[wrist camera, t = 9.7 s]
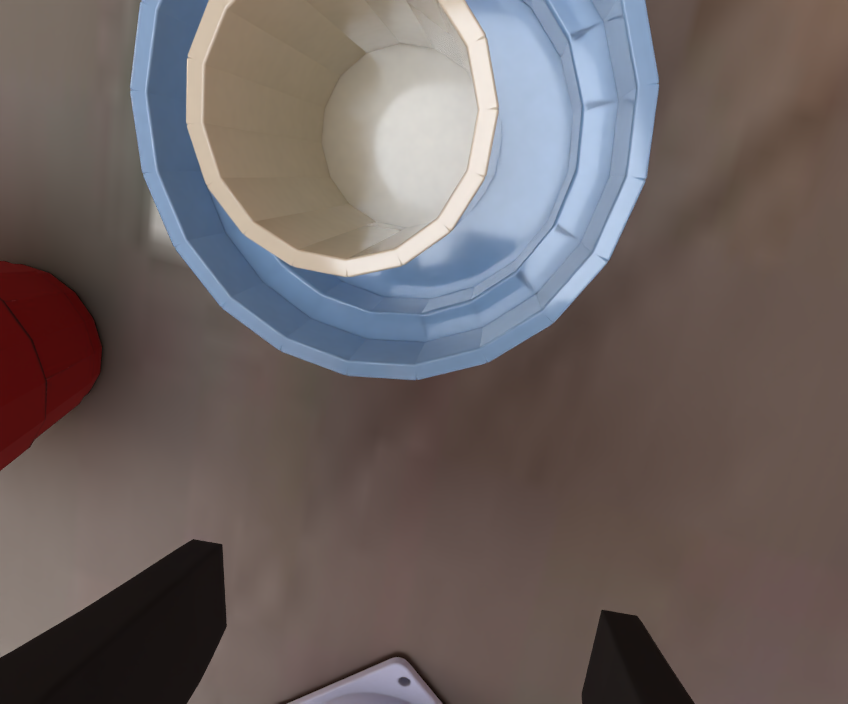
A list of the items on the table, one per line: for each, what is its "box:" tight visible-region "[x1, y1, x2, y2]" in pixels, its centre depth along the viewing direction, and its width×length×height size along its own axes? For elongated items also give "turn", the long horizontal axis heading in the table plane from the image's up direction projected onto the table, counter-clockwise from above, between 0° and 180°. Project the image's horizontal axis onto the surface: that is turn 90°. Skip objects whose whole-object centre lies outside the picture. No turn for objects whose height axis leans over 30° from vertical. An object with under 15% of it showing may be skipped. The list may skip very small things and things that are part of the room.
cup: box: [186, 0, 502, 277], centre depth 12 cm, size 6×6×7 cm
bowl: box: [130, 0, 659, 380], centre depth 14 cm, size 12×12×4 cm
